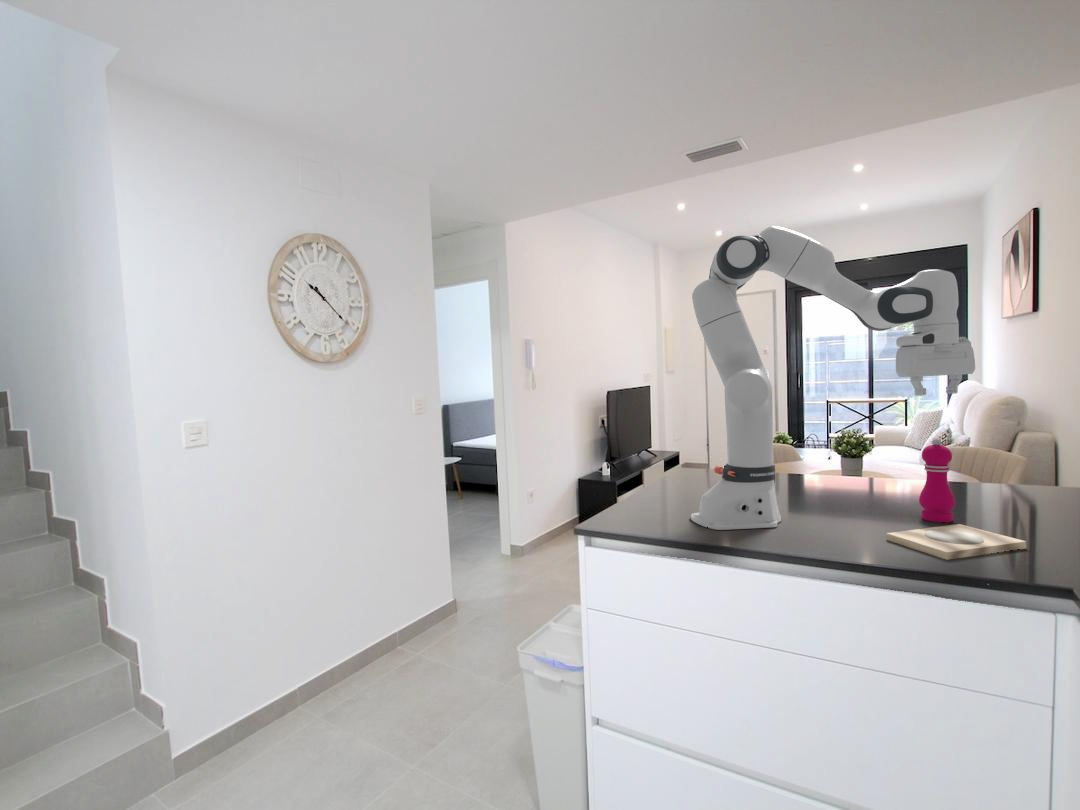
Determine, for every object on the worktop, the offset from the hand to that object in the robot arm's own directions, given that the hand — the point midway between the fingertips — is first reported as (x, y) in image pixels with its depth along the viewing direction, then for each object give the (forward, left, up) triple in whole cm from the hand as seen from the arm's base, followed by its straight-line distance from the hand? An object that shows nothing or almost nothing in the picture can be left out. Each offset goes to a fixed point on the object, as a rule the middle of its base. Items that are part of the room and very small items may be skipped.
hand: (936, 394), depth 133 cm
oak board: (-14, -16, -31) cm, 37 cm away
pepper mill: (0, 0, -31) cm, 31 cm away
